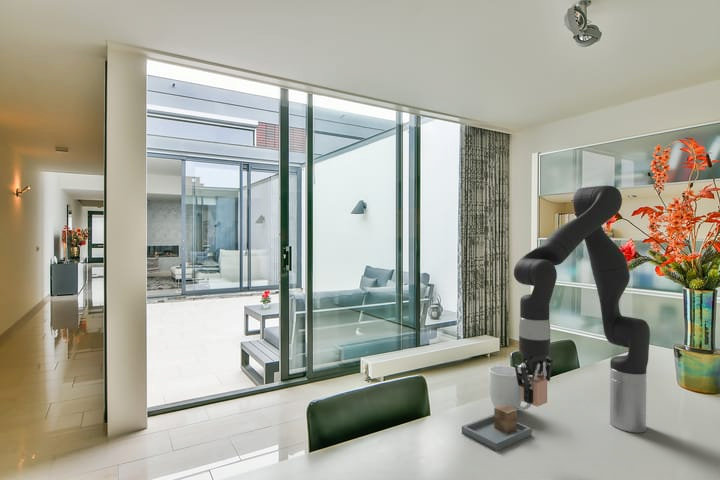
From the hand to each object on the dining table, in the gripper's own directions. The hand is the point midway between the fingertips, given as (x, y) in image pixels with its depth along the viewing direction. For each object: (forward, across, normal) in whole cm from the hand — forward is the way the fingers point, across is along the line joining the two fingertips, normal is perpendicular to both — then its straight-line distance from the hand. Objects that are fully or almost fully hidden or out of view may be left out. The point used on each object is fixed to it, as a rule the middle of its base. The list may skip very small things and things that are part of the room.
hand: (534, 400), depth 105 cm
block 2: (0, 0, 0) cm, 0 cm away
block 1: (+14, +6, +13) cm, 20 cm away
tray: (+15, +2, +13) cm, 20 cm away
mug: (+15, +19, +21) cm, 32 cm away
